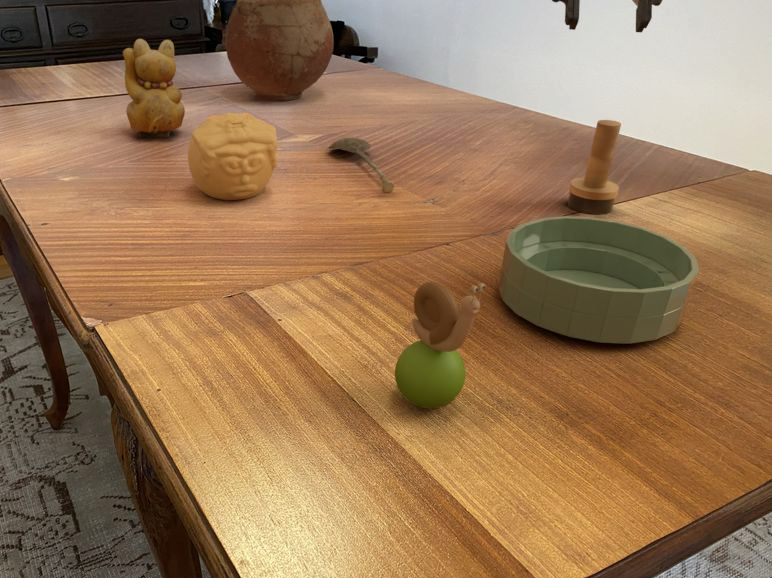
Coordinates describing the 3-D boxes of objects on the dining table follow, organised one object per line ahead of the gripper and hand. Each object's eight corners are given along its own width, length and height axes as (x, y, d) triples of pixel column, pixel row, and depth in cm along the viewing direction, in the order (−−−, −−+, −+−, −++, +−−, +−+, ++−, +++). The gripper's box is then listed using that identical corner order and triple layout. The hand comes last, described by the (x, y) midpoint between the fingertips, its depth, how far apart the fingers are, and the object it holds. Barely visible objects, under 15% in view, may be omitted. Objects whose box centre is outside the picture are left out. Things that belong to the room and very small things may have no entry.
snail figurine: (432, 438, 53) (451, 296, 46) (378, 395, 57) (389, 260, 51) (483, 414, 55) (509, 276, 49) (428, 375, 60) (445, 244, 53)
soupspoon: (363, 150, 116) (324, 155, 115) (363, 129, 115) (324, 134, 113) (410, 190, 98) (365, 196, 97) (411, 166, 96) (365, 172, 95)
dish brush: (605, 199, 96) (626, 117, 90) (619, 215, 91) (642, 129, 85) (561, 197, 97) (578, 115, 91) (572, 214, 91) (591, 128, 86)
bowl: (643, 270, 77) (658, 219, 74) (709, 354, 63) (731, 295, 60) (485, 264, 78) (494, 213, 75) (514, 346, 64) (526, 287, 61)
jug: (234, 83, 155) (228, -76, 139) (332, 85, 155) (337, -74, 139) (220, 107, 137) (211, -73, 121) (331, 110, 136) (337, -71, 120)
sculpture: (204, 212, 90) (198, 127, 85) (182, 183, 100) (175, 105, 94) (287, 201, 94) (287, 119, 88) (258, 174, 103) (256, 98, 98)
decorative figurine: (183, 126, 125) (176, 35, 117) (189, 139, 118) (182, 43, 110) (128, 130, 123) (116, 37, 115) (130, 143, 116) (118, 45, 108)
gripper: (563, -101, 93) (559, 5, 90) (676, -99, 92) (676, 9, 88) (550, -57, 101) (545, 43, 97) (654, -55, 99) (653, 47, 95)
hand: (607, 27), depth 93 cm, fingers open, 8 cm apart
